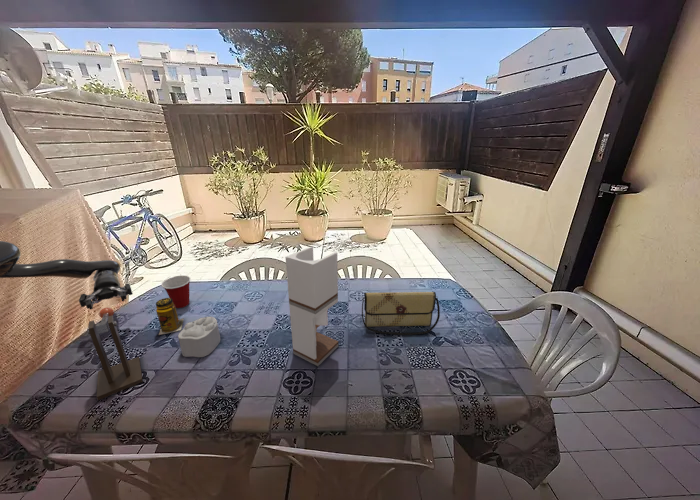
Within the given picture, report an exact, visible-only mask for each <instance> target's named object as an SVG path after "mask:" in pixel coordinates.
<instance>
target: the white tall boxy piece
mask: <svg viewBox="0 0 700 500" xmlns="http://www.w3.org/2000/svg"><path fill="white" fill-rule="evenodd" d="M284 258H285V269H286V281H287V293H288V305H289V306H288V307H289V317H290V318H289V319H290V330H291V342H292V344H291V345H292V353H293V355H295V356H297V357H298V358H301V359H303V360H305V361H306V362H308V363H310V364H312V365H315V366H316V367H319V366H320V365H322V363H323V362H324V361H325V360H327V358H328V357H330V355H331V354H332V353H333V352H335V350H336V349H337V348H338V347H339V340H336V339H334V338H332V337H330V336H328V335H325V334H322V333H320V332H318V331H317V330H318V328H319V327H320V326H321V327H324V326H325V327H326V326H328V325H329V316H328V310H329V309H331V308H332V307H333V306H334V305H336V304H338V302H339V279H338V278H339V277H338V275H339V274H338V273H339V272H338V271H339V270H338V269H339V268H338V252H336V251H334V252H332V253H330V254H328V255H326V256H324V257H322V258H320V259H315V260H314V247H313V246H309V247H306V248H303V249H301V250H299V251H296V252H294V253H292V254H289V255H287V256H285V257H284Z"/></svg>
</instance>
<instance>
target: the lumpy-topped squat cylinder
mask: <svg viewBox="0 0 700 500" xmlns="http://www.w3.org/2000/svg"><path fill="white" fill-rule="evenodd" d="M177 338H178V342H179V346H180V350H181V354H182V357H185V358H189V357H195V358H203V357H207V356H208V355H210V354H211V353H213V351H214V350H215V349H216V348H217V347H218V345H219V344H220V343H221V335H220V329H219V323H218V320H217V319H216V318H215V317H214V316H205V317H199V318H198V319H196V320H193V321H190V322H187V323H185V325H184V327H183V328H182V329H181V330H180V332H179V333H178V335H177Z"/></svg>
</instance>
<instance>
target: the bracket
mask: <svg viewBox="0 0 700 500" xmlns="http://www.w3.org/2000/svg"><path fill="white" fill-rule="evenodd" d="M107 322H108V325H109V331H110V334H111V336H112V339H113V342H114V346H115V348H116V351H117V354H118V357H119V359H120V363H118V364H115V365H112V366H111V363H110V361H109V358H108V355H107V353H106V349H105V348H104V345H103V342H102V339H101V336H100V334H98V332H97V329H96V322H95V320H90V321H88V326H87V327H88V328H87V329H86V331H87V334H88V335H90V338H91V340H92V343H93V346H94V348H95V351H96V354H97V356H98V359H99V362H100V365H101V368H102V369H101V370H97V384H96V399H97V401H100V400H103V399H104V398H105V399H106V398H107V397H111V396H112V395H114V394H118V393H119V392H122V391H124V390H127V389H130V388H132V387H134V386H136V385H139V384H141V383H143V382H144V379H143V371H142V364H141V360H140V356H137V357H134V358H130V359H129V360H128V357H127V354H126V351H125V347H124V345H123V343H122V340H121V336H120V334H119V330H118V328H117V327H118V322H117V320H115V317H114V314H113V315H111V316H108V321H107Z"/></svg>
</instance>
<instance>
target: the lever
mask: <svg viewBox="0 0 700 500" xmlns="http://www.w3.org/2000/svg"><path fill="white" fill-rule="evenodd" d="M114 314H115V310H114V309H113V308H112V307H104V308H101V309H100V310H99V312H98V315H99V316H98V317H100V318H101V320H100V322H97V323H95V325H96V329H97V332H98V334H99V335H101V334H105V333H108V332H109V331H110V328H109V325H108V316H111V315H113V316H114Z"/></svg>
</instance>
